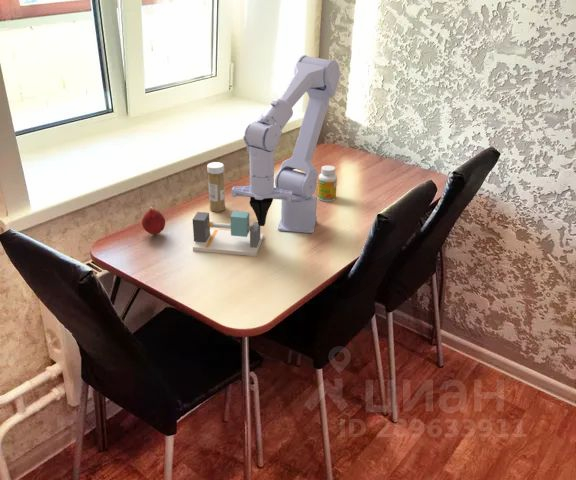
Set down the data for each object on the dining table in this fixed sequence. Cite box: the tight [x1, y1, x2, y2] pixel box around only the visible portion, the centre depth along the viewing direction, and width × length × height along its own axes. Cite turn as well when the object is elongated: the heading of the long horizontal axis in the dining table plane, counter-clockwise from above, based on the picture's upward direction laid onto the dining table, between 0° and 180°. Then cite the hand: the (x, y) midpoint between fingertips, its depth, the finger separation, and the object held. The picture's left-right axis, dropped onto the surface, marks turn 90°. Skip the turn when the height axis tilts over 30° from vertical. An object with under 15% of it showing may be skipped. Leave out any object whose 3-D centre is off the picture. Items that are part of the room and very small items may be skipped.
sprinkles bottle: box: [206, 161, 226, 213], centre depth 161 cm, size 5×5×14 cm
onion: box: [141, 206, 166, 236], centre depth 148 cm, size 6×6×8 cm
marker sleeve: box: [230, 210, 250, 237], centre depth 143 cm, size 4×3×5 cm
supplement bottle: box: [317, 164, 338, 203], centre depth 169 cm, size 5×5×10 cm
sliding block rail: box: [192, 211, 265, 257], centre depth 145 cm, size 16×10×7 cm, turn 81°
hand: (261, 224), depth 143 cm, fingers closed
